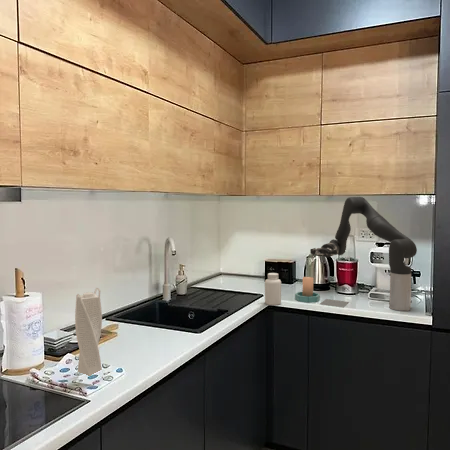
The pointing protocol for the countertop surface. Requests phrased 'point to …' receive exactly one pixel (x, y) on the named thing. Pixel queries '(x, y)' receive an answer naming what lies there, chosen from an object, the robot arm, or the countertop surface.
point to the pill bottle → (273, 289)
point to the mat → (334, 303)
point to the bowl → (307, 299)
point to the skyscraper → (88, 331)
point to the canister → (307, 287)
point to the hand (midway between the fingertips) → (320, 252)
